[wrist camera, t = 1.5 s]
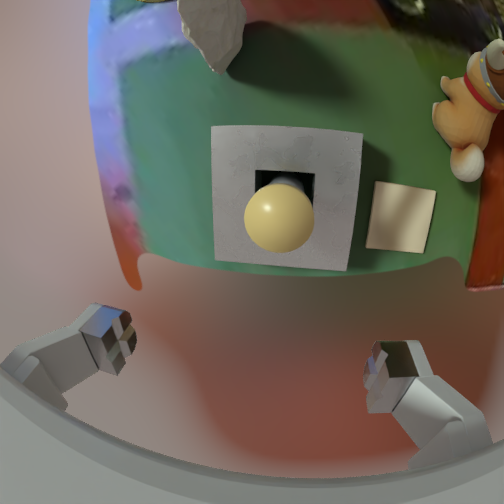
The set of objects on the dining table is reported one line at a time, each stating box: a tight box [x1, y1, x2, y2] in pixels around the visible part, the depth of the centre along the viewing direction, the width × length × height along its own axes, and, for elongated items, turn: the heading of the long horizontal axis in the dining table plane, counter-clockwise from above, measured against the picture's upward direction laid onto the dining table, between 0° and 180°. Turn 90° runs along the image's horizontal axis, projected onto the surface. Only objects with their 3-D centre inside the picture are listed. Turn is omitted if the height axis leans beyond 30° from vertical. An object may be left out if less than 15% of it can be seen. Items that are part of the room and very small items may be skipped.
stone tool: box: [177, 0, 247, 75], centre depth 17 cm, size 8×3×15 cm, turn 162°
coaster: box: [365, 181, 436, 253], centre depth 29 cm, size 8×8×1 cm
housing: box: [211, 125, 363, 271], centre depth 28 cm, size 14×14×5 cm
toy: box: [432, 39, 504, 182], centre depth 15 cm, size 10×16×15 cm, turn 171°
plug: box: [244, 172, 314, 253], centre depth 25 cm, size 5×5×11 cm
